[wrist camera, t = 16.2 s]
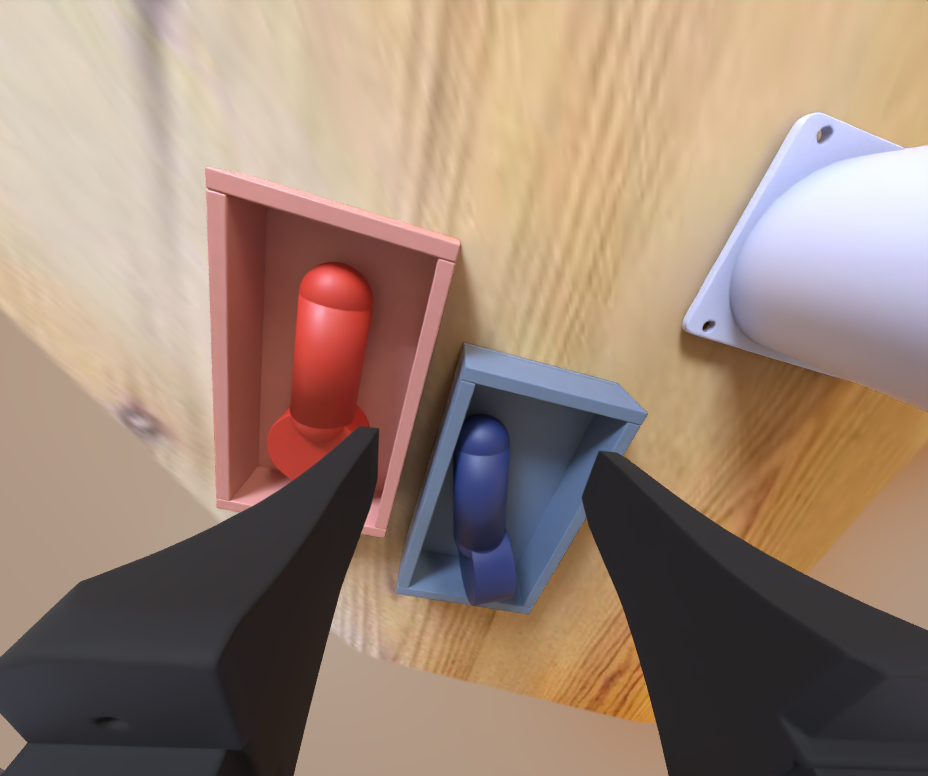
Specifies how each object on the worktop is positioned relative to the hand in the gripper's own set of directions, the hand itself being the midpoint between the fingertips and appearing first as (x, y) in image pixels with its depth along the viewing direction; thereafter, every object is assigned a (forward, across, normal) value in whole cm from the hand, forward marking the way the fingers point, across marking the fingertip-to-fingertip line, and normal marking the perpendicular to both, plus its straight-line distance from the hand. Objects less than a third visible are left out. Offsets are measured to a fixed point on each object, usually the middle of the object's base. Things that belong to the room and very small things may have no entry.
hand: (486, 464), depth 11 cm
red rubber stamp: (+5, +6, 0) cm, 8 cm away
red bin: (+6, +6, 0) cm, 9 cm away
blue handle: (+4, -2, +5) cm, 7 cm away
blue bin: (+6, -2, +5) cm, 8 cm away
